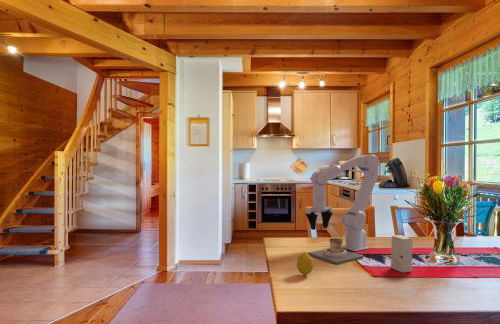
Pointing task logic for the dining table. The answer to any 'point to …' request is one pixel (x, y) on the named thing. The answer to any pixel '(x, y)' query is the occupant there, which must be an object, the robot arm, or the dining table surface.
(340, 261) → the collar board
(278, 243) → the dining table surface
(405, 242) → the skincare box
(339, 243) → the cup
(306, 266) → the lemon
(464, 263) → the dining table surface
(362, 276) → the dining table surface
